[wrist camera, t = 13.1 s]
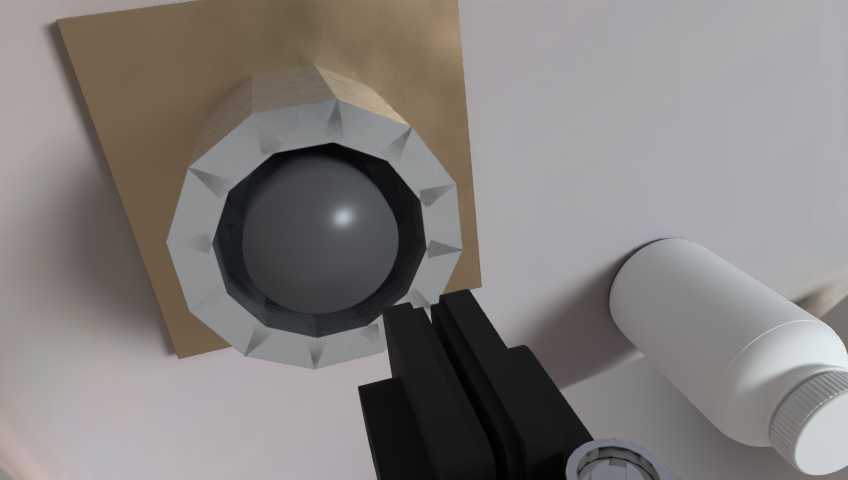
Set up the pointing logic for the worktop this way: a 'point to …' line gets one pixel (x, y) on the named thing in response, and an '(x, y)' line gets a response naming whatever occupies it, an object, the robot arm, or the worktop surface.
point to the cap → (317, 229)
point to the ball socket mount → (275, 132)
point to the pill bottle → (738, 352)
